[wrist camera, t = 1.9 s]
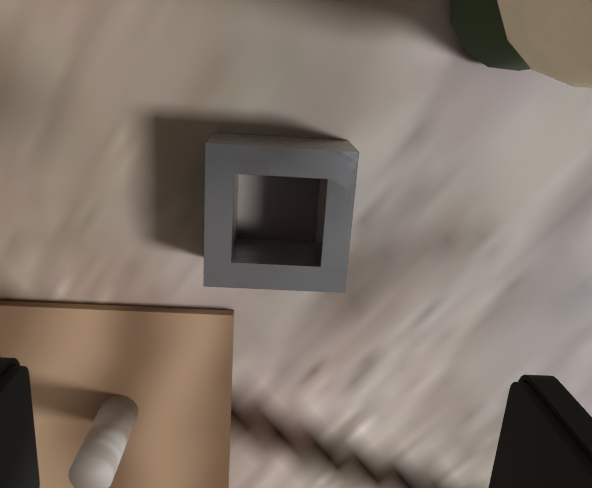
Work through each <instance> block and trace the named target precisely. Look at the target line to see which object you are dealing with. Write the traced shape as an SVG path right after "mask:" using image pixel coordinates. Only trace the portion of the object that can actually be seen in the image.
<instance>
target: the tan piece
mask: <svg viewBox="0 0 592 488" xmlns="http://www.w3.org/2000/svg"><path fill="white" fill-rule="evenodd" d="M233 329H234V310H211V309H188V308H165V307H141V306H118V305H94V304H71V303H47V302H24V301H0V355H1V357H7V358H16V359H18V361H19V363H20V366H26V367H27V368H28V370H29V376H30V386H31V396H32V406H33V417H34V427H35V437H36V447H37V457H38V468H39V478H40V488H229V457H230V425H231V393H232V361H233Z"/></svg>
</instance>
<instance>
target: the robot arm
mask: <svg viewBox="0 0 592 488" xmlns="http://www.w3.org/2000/svg"><path fill="white" fill-rule="evenodd" d="M0 488H40V478H39V468H38V457H37V447H36V437H35V427H34V417H33V406H32V396H31V386H30V376H29V370H28V368H27V367H26V366H20V363H19V361H18V359H16V358H7V357H0ZM489 488H592V417H591V416H590V415H589V414H588V413H587V412H586V410H585V409H584V408H583V407H582V406H581V405H580V404H579V403H578V402H577V401H576V399H575V398H574V397H573V396H572V395H571V394H570V393H569V392H568V391H567V389H566V388H565V387H564V386H563V385H562V384H561V383H560V382H559V381H558V379H556V378H555V377H554V376H542V375H523V376H521V378H520V379H519V381H518V382H514V383H512V385H511V387H510V390H509V395H508V399H507V404H506V409H505V414H504V418H503V423H502V428H501V432H500V437H499V442H498V446H497V451H496V456H495V461H494V465H493V470H492V475H491V479H490V484H489Z"/></svg>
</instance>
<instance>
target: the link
mask: <svg viewBox="0 0 592 488" xmlns="http://www.w3.org/2000/svg"><path fill="white" fill-rule="evenodd" d="M358 157H359V152H358V151H357V150H356V148H355V147H354V146H353V145H352V144H351V143H350V142H349V141H347V140H330V139H314V138H297V137H280V136H264V135H247V134H230V133H213V135H212V136H211V137H210V138H209V139H208V141H207V142H206V143H205V209H204V286H207V287H229V288H251V289H273V290H296V291H318V292H340V293H345V287H346V277H347V267H348V257H349V247H350V237H351V227H352V217H353V207H354V197H355V187H356V177H357V167H358ZM238 174H248V175H266V176H284V177H302V178H320V190H319V203H318V216H317V228H316V241H315V242H301V241H281V240H261V239H241V238H236V234H237V202H238Z"/></svg>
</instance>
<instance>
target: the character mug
mask: <svg viewBox="0 0 592 488" xmlns="http://www.w3.org/2000/svg"><path fill="white" fill-rule="evenodd" d="M451 22H452V25H453V27H454V29H455V31H456V33H457V36H458V38H459V40H460V42H461V44H462V47H463V49H464V50H465V51H467V52H468V53H470V54H471V55H472V56H474V57H475V58H476V59H478V60H479V61H481V62H482V63H483V64H485V65H486V66H487V67H493V68H501V69H509V70H517V71H520V70H526V69H532V70H535V71H537V72H540V73H542V74H544V75H547V76H549V77H552V78H554V79H557V80H559V81H561V82H564V83H566V84H569V85H571V86H575V87H586V88H592V0H451Z"/></svg>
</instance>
